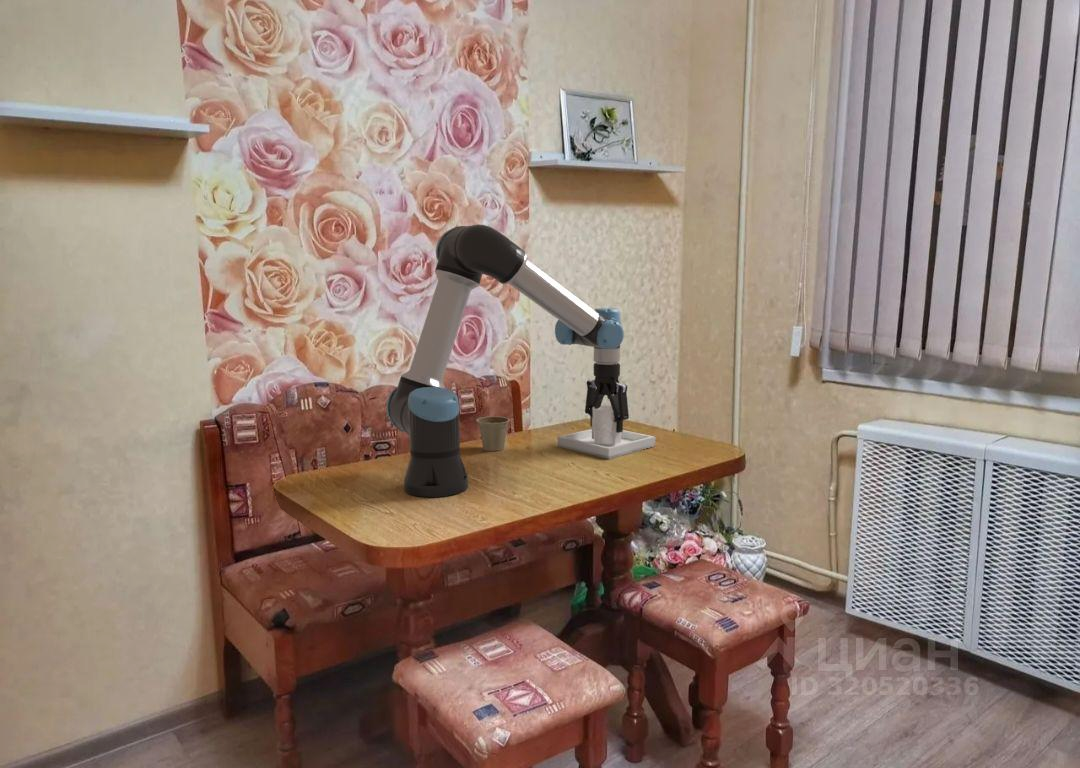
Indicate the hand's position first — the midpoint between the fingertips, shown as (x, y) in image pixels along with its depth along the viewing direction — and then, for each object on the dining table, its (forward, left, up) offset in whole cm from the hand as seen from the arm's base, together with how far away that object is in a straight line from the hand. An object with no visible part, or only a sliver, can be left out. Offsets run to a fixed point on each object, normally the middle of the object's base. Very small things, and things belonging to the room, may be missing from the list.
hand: (606, 440), depth 216 cm
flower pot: (-25, +21, -2) cm, 33 cm away
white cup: (0, 0, 0) cm, 0 cm away
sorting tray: (0, 0, -2) cm, 2 cm away
